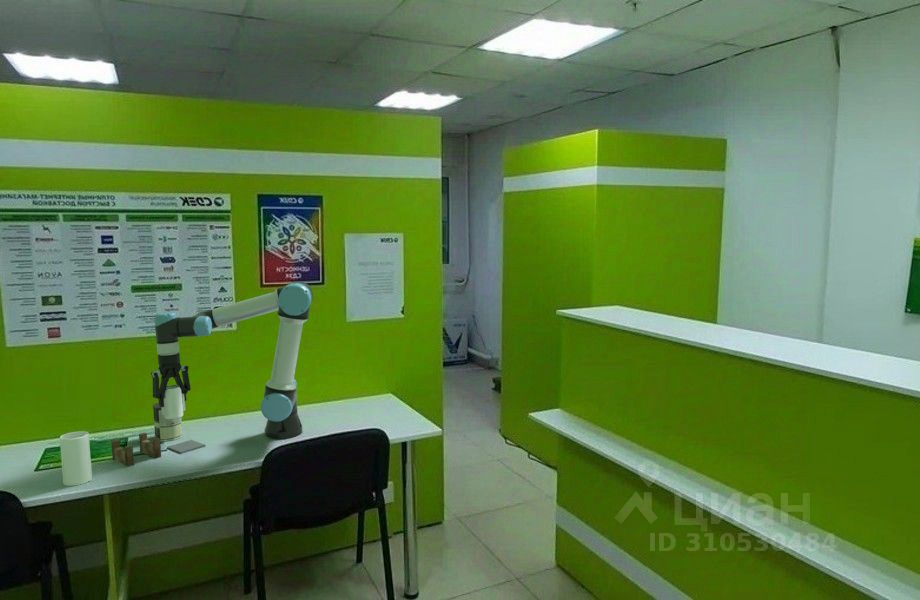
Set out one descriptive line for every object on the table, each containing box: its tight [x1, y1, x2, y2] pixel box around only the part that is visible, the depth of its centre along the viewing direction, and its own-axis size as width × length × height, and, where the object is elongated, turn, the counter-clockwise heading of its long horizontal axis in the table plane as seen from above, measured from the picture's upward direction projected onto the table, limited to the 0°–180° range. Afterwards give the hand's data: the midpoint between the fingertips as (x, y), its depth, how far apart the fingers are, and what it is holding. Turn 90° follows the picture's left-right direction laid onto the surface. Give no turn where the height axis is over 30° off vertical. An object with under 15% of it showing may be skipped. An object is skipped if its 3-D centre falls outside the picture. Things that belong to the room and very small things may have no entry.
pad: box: [166, 439, 206, 454], centre depth 235 cm, size 10×10×1 cm
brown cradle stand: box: [110, 432, 162, 467], centre depth 224 cm, size 12×12×7 cm
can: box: [164, 384, 184, 420], centre depth 230 cm, size 6×6×12 cm
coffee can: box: [152, 402, 183, 442], centre depth 246 cm, size 10×10×14 cm
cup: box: [59, 430, 93, 487], centre depth 203 cm, size 8×8×16 cm
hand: (173, 412), depth 231 cm, fingers closed on can, 6 cm apart
